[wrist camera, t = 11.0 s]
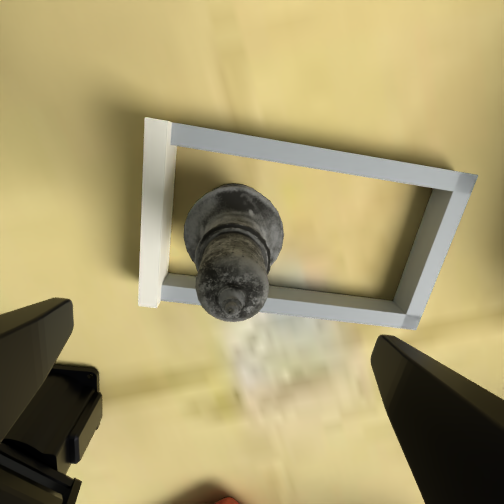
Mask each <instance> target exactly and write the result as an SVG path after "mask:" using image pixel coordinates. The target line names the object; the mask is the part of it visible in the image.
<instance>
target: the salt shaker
mask: <svg viewBox="0 0 504 504" xmlns="http://www.w3.org/2000/svg"><path fill="white" fill-rule="evenodd" d="M283 237H284V233H283V224H282V221H281V218H280V216H279V213H278V211H277V210H276V208H275V207H274V206H273V204H272V203H271V202H270V200H268V199H267V198H266V197H264V196H263V195H262V194H260V193H259V192H257V191H256V190H254V189H253V188H250V187H248V186H245V185H241V184H227V185H222V186H220V187H218V188H216V189H214V190H212V191H211V192H208V193H206V194H205V195H204V196H203V197H201V198H200V199H199V200H198V201H197V202H196V203H195V204H194V206H193V207H192V209H191V210H190V212H189V213H188V216H187V219H186V222H185V225H184V241H185V245H186V249H187V252H188V253H189V255H190V257H191V259H192V261H193V262H194V263H195V264H196V268H197V271H198V273H197V277H196V285H195V288H196V293H197V297H198V300H199V302H200V304H201V306H202V307H203V308H204V309H205V310H206V311H207V312H208V313H209V314H210V315H212V316H213V317H215V318H217V319H220V320H223V321H229V322H237V321H244V320H246V319H249V318H251V317H253V316H254V315H255V314H257V313H258V312H259V311H260V310H261V309H262V307H263V306H264V304H265V302H266V300H267V297H268V292H269V281H268V276H267V275H268V273H269V271H270V267H271V265H272V264H273V263H274V262H275V260H276V259H277V257H278V255H279V253H280V251H281V248H282V243H283Z"/></svg>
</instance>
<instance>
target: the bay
mask: <svg viewBox="0 0 504 504" xmlns="http://www.w3.org/2000/svg"><path fill="white" fill-rule="evenodd" d="M177 146H181V147H187V148H193V149H199V150H205V151H211V152H218V153H224V154H230V155H236V156H242V157H248V158H254V159H260V160H266V161H272V162H278V163H284V164H290V165H296V166H302V167H308V168H314V169H321V170H327V171H333V172H339V173H345V174H351V175H357V176H363V177H369V178H375V179H381V180H387V181H393V182H399V183H405V184H411V185H417V186H424V187H430V188H433V190H432V193H431V196H430V199H429V201H428V204H427V207H426V210H425V213H424V215H423V218H422V221H421V224H420V227H419V229H418V232H417V235H416V238H415V241H414V243H413V246H412V249H411V252H410V254H409V257H408V260H407V263H406V266H405V268H404V271H403V274H402V277H401V280H400V282H399V285H398V288H397V291H396V294H395V296H394V299H393V301H390V300H382V299H374V298H366V297H358V296H350V295H342V294H334V293H326V292H318V291H310V290H302V289H294V288H286V287H278V286H270V285H269V292H268V297H267V300H266V302H265V304H264V306H263V307H262V309H261V310H260V311H259V312H264V313H273V314H281V315H290V316H299V317H307V318H316V319H325V320H333V321H342V322H351V323H359V324H368V325H377V326H385V327H394V328H403V329H411V330H416V329H417V327H418V324H419V322H420V319H421V317H422V314H423V312H424V309H425V307H426V304H427V302H428V299H429V297H430V294H431V292H432V289H433V287H434V284H435V282H436V279H437V277H438V274H439V272H440V269H441V267H442V264H443V262H444V259H445V257H446V254H447V252H448V249H449V247H450V244H451V242H452V240H453V237H454V235H455V232H456V230H457V227H458V225H459V222H460V220H461V217H462V215H463V212H464V210H465V207H466V205H467V202H468V200H469V197H470V195H471V192H472V190H473V187H474V185H475V182H476V180H477V177H478V175H475V174H469V173H464V172H458V171H452V170H446V169H440V168H435V167H429V166H423V165H417V164H411V163H406V162H400V161H394V160H388V159H382V158H377V157H371V156H365V155H359V154H353V153H347V152H342V151H336V150H330V149H324V148H318V147H313V146H307V145H301V144H295V143H289V142H284V141H278V140H272V139H266V138H260V137H255V136H249V135H243V134H237V133H231V132H226V131H220V130H214V129H208V128H202V127H197V126H191V125H185V124H179V123H173V122H170V121H165V120H160V119H154V118H148V117H145V125H144V154H143V182H142V211H141V239H140V267H139V296H138V306H143V307H152V308H157V307H158V305H159V303H160V301H169V302H177V303H186V304H195V305H201V304H200V302H199V300H198V297H197V293H196V288H195V285H196V277H197V276H189V275H181V274H173V273H168V267H169V253H170V239H171V225H172V211H173V196H174V182H175V168H176V154H177Z"/></svg>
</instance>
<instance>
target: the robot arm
mask: <svg viewBox="0 0 504 504" xmlns="http://www.w3.org/2000/svg"><path fill="white" fill-rule="evenodd" d="M73 326H74V321H73V304H72V301H71V300H70V299H65V298H51V299H48V300H45V301H42V302H39V303H36V304H32V305H29V306H26V307H23V308H20V309H17V310H14V311H10V312H7V313H4V314H1V315H0V504H75V502H76V499H77V496H78V493H79V490H80V486H81V483H82V481H80V480H78V479H76V478H74V479H73V478H71V477H69V476H67V475H66V473H67V471H68V469H69V467H70V465H71V464H77V463H78V462H79V461H80V460H81V458H82V456H83V454H84V452H85V450H86V448H87V446H88V444H89V442H90V440H91V438H92V436H93V434H94V432H95V430H97V429H98V427H99V425H100V420H101V418H102V394H101V393H100V392H99V372H98V371H97V370H96V369H93V368H84V367H73V366H62V365H54V363H55V362H56V360H57V358H58V356H59V355H60V353H61V351H62V349H63V347H64V346H65V344H66V342H67V340H68V339H69V337H70V335H71V333H72V331H73ZM371 366H372V369H373V372H374V375H375V378H376V382H377V385H378V388H379V391H380V394H381V397H382V401H383V404H384V407H385V409H386V412H387V415H388V417H389V420H390V422H391V425H392V427H393V429H394V432H395V434H396V436H397V439H398V441H399V443H400V446H401V448H402V450H403V453H404V455H405V457H406V460H407V462H408V464H409V467H410V469H411V471H412V474H413V476H414V478H415V481H416V483H417V485H418V488H419V490H420V492H421V495H422V497H423V499H424V502H425V504H504V400H503V399H501V398H499V397H498V396H496V395H494V394H493V393H491V392H489V391H487V390H486V389H484V388H482V387H481V386H479V385H477V384H476V383H474V382H472V381H470V380H469V379H467V378H465V377H464V376H462V375H460V374H458V373H457V372H455V371H453V370H452V369H450V368H448V367H446V366H445V365H443V364H441V363H440V362H438V361H436V360H434V359H433V358H431V357H429V356H428V355H426V354H424V353H422V352H421V351H419V350H417V349H416V348H414V347H412V346H410V345H409V344H407V343H405V342H404V341H402V340H400V339H399V338H397V337H395V336H392V335H380V336H379V337H378V338H377V341H376V344H375V346H374V349H373V352H372V355H371ZM90 374H91V375H90ZM92 375H93V376H92Z"/></svg>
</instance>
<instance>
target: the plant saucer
mask: <svg viewBox="0 0 504 504" xmlns="http://www.w3.org/2000/svg"><path fill="white" fill-rule="evenodd" d="M214 504H240V503H238V502H237V501H236V500H235V499H233V498H231V497H226V498H223V499H221V500H219V501H218V502H216V503H214Z"/></svg>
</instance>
